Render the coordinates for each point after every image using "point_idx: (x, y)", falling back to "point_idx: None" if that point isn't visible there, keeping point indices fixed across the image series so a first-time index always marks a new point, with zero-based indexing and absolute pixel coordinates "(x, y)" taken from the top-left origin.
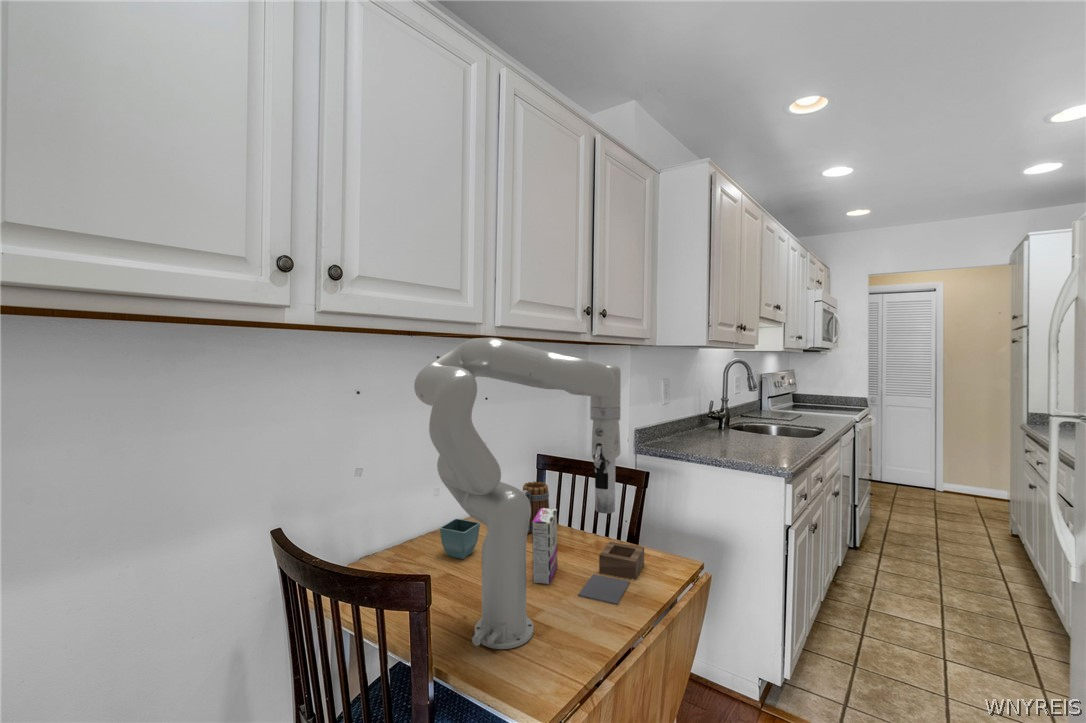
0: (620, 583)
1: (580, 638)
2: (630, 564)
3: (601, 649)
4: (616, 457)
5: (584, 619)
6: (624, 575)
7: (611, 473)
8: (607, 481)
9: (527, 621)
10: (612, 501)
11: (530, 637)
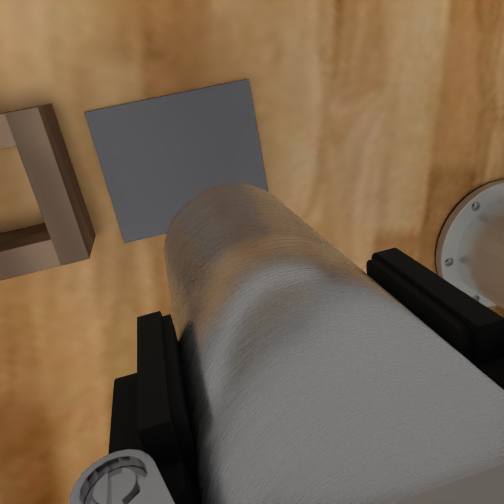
0: (123, 133)
1: (443, 83)
2: (47, 129)
3: (462, 10)
4: (418, 495)
5: (365, 122)
6: (64, 147)
7: (400, 312)
8: (436, 276)
9: (465, 221)
10: (269, 204)
11: (497, 181)
